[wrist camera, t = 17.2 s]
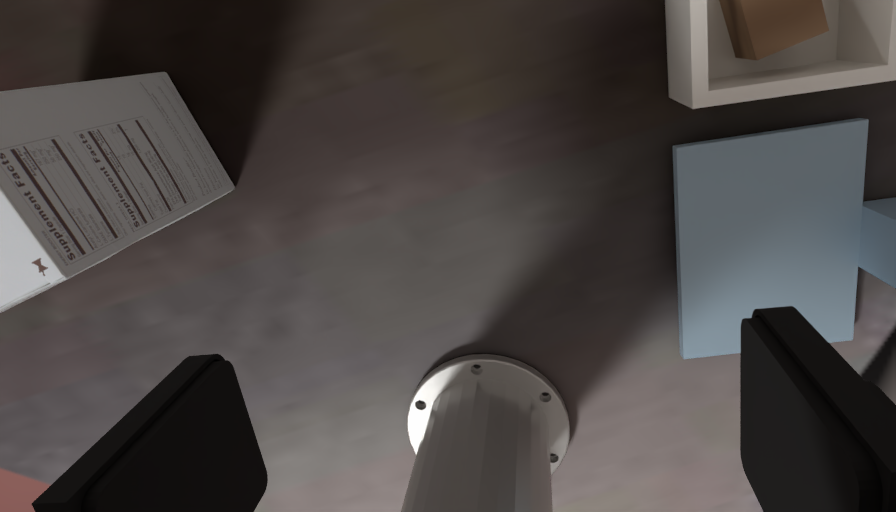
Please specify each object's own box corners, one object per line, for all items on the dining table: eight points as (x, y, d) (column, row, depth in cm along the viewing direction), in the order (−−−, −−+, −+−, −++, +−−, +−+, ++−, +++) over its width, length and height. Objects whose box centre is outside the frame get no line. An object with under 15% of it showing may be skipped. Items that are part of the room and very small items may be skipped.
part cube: (800, 30, 34) (829, 30, 31) (735, 57, 35) (757, 60, 32) (784, -33, 33) (812, -40, 30) (718, -3, 34) (738, -7, 31)
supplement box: (167, 67, 40) (-62, 90, 25) (240, 188, 43) (72, 277, 27) (66, 128, 43) (-200, 184, 27) (140, 239, 45) (-66, 348, 30)
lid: (887, 325, 41) (973, 385, 34) (677, 349, 42) (717, 412, 35) (907, 108, 36) (1013, 125, 29) (669, 144, 37) (714, 168, 30)
